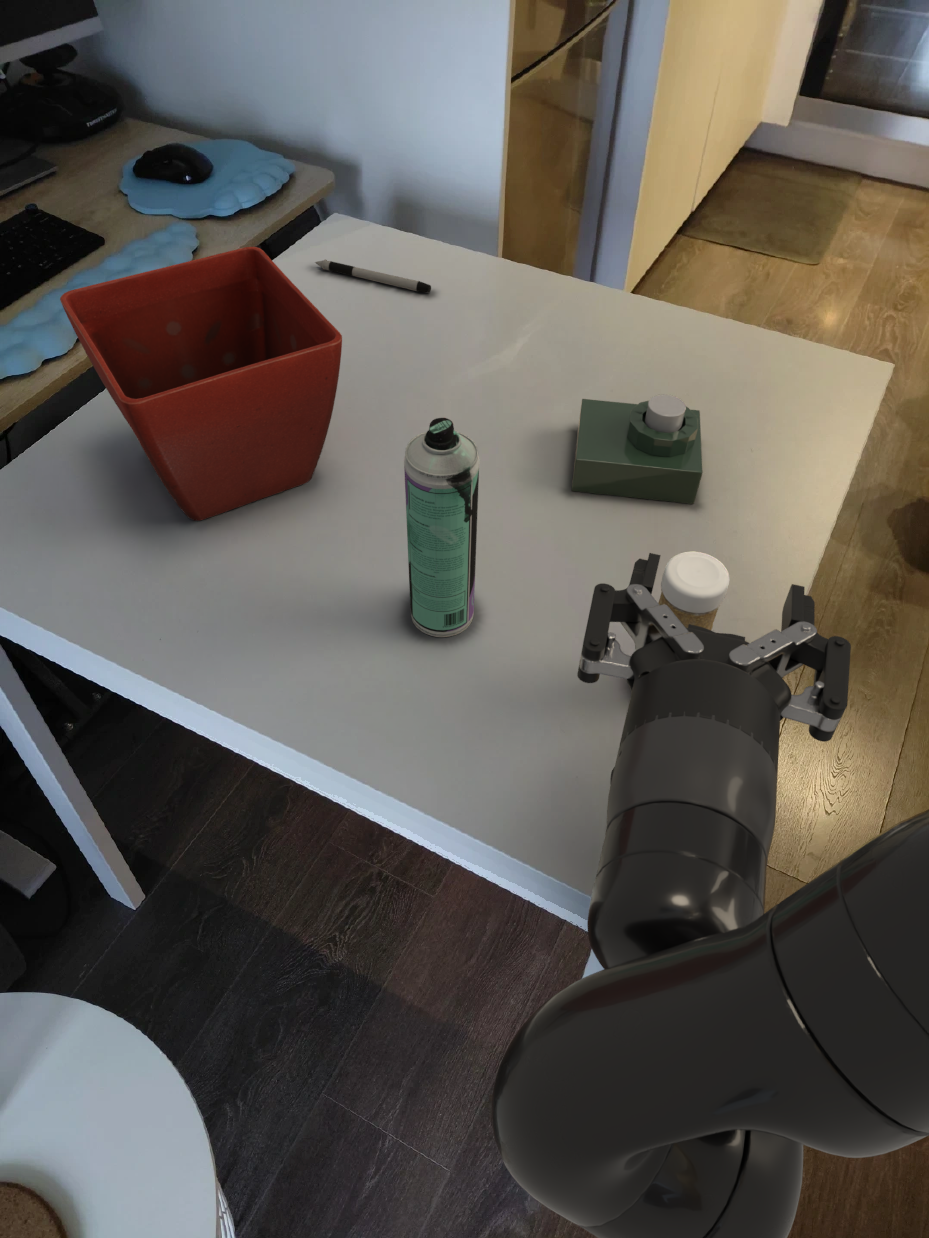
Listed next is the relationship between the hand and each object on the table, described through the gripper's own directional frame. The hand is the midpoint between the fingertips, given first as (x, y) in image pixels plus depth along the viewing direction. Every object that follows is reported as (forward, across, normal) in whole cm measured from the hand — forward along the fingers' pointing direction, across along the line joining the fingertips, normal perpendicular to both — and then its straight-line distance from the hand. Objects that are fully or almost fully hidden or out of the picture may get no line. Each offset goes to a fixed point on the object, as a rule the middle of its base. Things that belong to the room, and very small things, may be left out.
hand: (721, 580), depth 55 cm
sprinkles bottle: (+9, +1, +18) cm, 20 cm away
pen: (+62, +47, +10) cm, 78 cm away
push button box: (+36, +8, +14) cm, 39 cm away
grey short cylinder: (+35, +6, +8) cm, 37 cm away
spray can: (+11, +21, +18) cm, 29 cm away
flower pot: (+23, +47, +16) cm, 54 cm away
